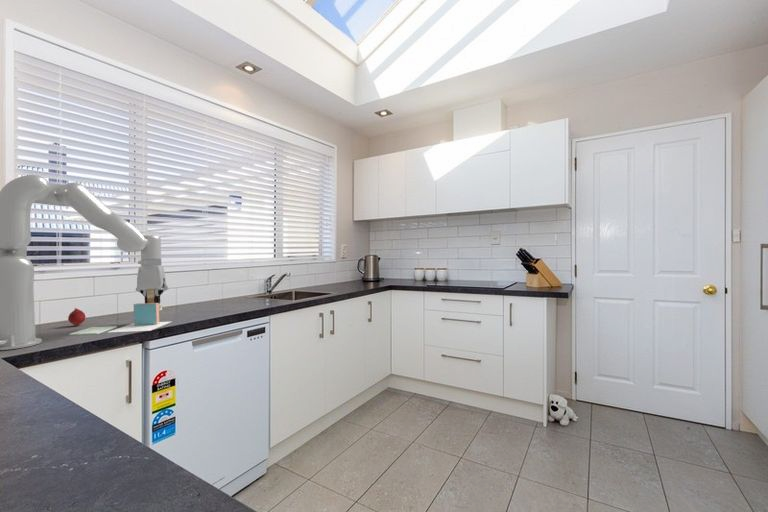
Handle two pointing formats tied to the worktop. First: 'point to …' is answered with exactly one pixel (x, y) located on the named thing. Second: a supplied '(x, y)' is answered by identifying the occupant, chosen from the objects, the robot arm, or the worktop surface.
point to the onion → (76, 317)
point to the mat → (139, 327)
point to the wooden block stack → (151, 297)
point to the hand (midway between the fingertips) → (152, 304)
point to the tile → (146, 314)
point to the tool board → (93, 330)
